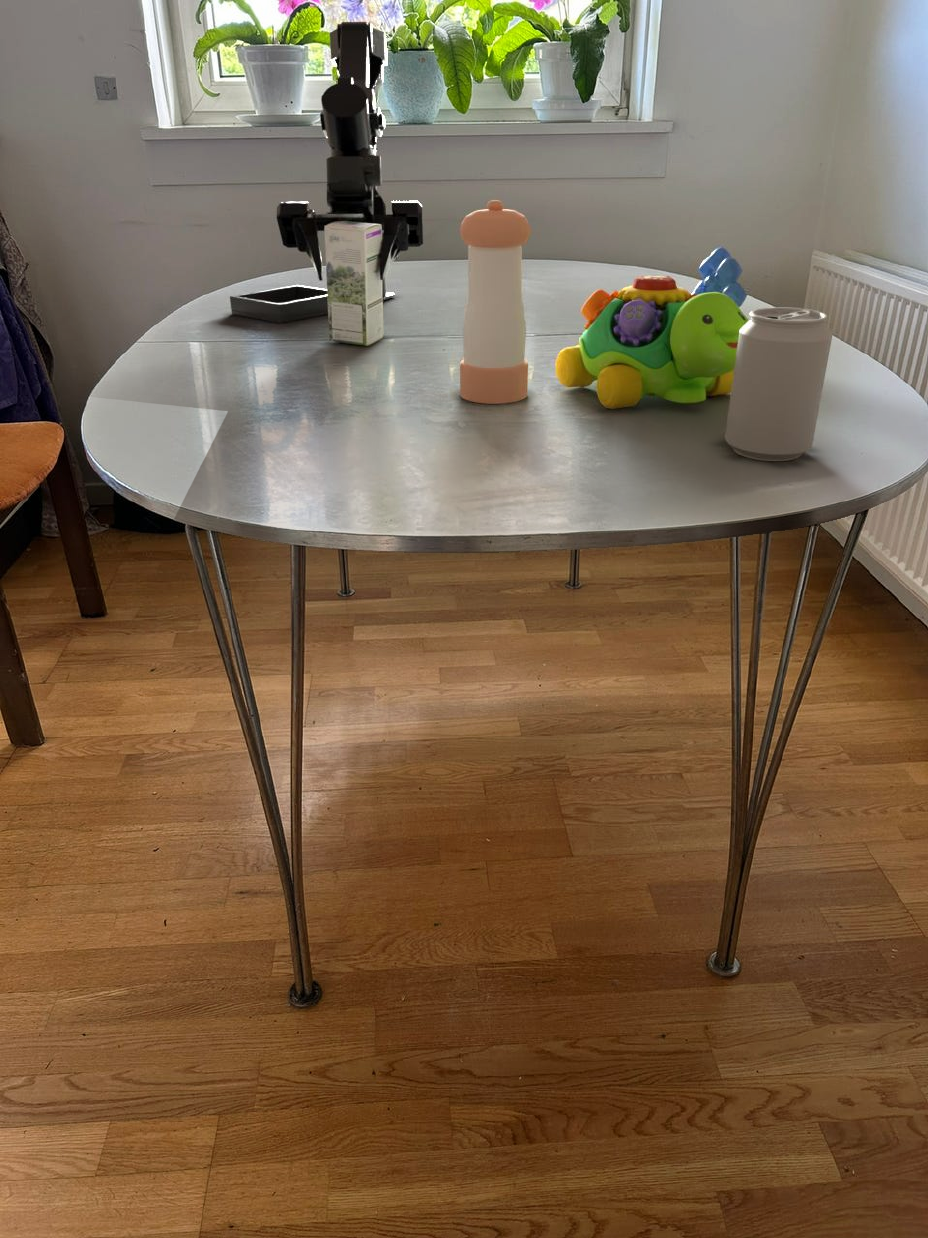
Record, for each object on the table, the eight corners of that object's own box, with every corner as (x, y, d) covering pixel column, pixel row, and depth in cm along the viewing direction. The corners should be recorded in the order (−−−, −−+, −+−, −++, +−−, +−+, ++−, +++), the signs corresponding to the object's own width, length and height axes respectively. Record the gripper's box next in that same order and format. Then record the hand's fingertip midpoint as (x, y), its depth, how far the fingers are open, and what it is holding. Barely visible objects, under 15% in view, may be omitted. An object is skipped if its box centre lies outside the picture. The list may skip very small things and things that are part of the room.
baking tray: (298, 301, 150) (297, 284, 148) (348, 309, 143) (347, 292, 142) (231, 313, 140) (229, 296, 139) (281, 323, 134) (279, 304, 133)
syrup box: (384, 337, 125) (383, 222, 117) (366, 347, 120) (364, 227, 112) (346, 332, 126) (343, 218, 119) (327, 342, 121) (322, 224, 114)
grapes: (665, 340, 122) (674, 243, 116) (712, 337, 123) (724, 242, 117) (699, 359, 112) (711, 255, 106) (751, 357, 113) (765, 253, 107)
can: (712, 439, 85) (729, 304, 79) (790, 436, 85) (813, 302, 80) (740, 466, 78) (761, 321, 72) (825, 462, 79) (853, 318, 73)
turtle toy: (654, 437, 85) (666, 306, 80) (538, 379, 104) (542, 270, 98) (797, 415, 91) (818, 291, 86) (663, 364, 110) (673, 260, 104)
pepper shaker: (454, 402, 96) (452, 203, 87) (465, 385, 102) (464, 197, 93) (523, 405, 95) (528, 203, 86) (530, 387, 101) (536, 197, 92)
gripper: (270, 131, 114) (266, 234, 109) (420, 130, 115) (421, 233, 110) (285, 197, 125) (282, 294, 120) (422, 196, 125) (424, 292, 121)
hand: (350, 277), depth 117 cm, fingers closed on syrup box, 7 cm apart
